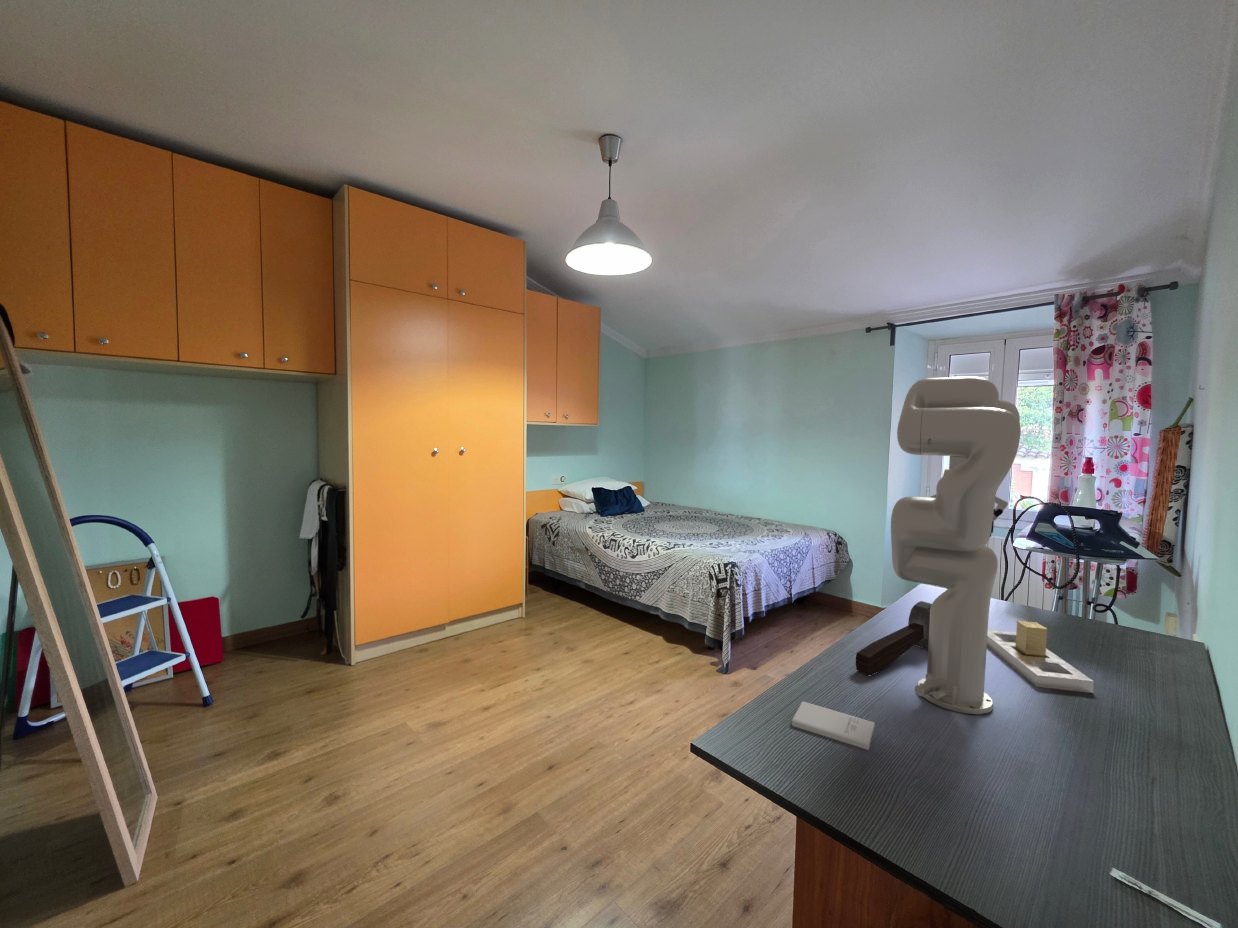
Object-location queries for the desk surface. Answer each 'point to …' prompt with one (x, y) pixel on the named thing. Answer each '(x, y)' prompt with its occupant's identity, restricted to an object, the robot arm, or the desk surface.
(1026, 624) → the brass peg
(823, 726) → the external hard drive
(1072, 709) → the desk surface
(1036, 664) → the white flat frame
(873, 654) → the hammer
